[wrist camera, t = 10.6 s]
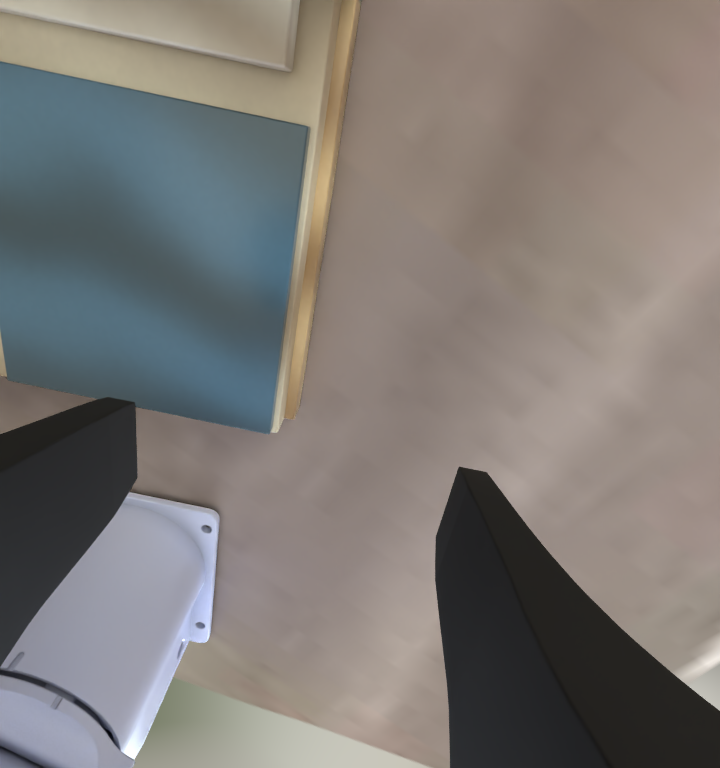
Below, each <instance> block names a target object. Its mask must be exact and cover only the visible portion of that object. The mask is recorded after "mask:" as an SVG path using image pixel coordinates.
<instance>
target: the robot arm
mask: <svg viewBox="0 0 720 768" xmlns="http://www.w3.org/2000/svg"><path fill="white" fill-rule="evenodd" d="M136 479H137V445H136V412H135V402H131V401H126V400H121V399H116V398H111V397H106V398H102V399H98V400H95V401H92V402H89V403H86V404H83V405H80V406H77V407H74V408H72V409H69V410H66V411H63V412H61V413H58V414H55V415H53V416H50V417H47V418H44V419H42V420H39V421H36V422H33V423H31V424H28V425H25V426H22V427H20V428H17V429H14V430H11V431H9V432H6V433H3V434H0V768H133V766H134V764H135V761H134V758H135V757H136V755H137V754H138V752H139V751H140V749H141V747H142V745H143V743H144V741H145V739H146V736H147V734H148V732H149V730H150V727H151V725H152V723H153V721H154V719H155V716H156V714H157V712H158V709H159V707H160V705H161V703H162V701H163V698H164V696H165V694H166V691H167V689H168V687H169V685H170V682H171V680H172V678H173V676H174V673H175V671H176V669H177V667H178V664H179V662H180V660H181V658H182V655H183V653H184V651H185V649H186V646H187V644H188V642H189V641H194V642H198V643H204V642H206V641H208V639H209V636H210V634H211V622H212V609H213V597H214V584H215V571H216V558H217V546H218V533H219V520H220V518H219V515H218V513H217V512H216V511H214V510H212V509H209V508H204V507H199V506H195V505H190V504H185V503H180V502H175V501H170V500H165V499H161V498H156V497H151V496H146V495H141V494H136V493H131V492H129V491H130V490H131V488H132V486H133V484H134V483H135V481H136ZM205 525H208V526H210V527H211V528H208V527H206V526H205ZM435 581H436V591H437V600H438V609H439V618H440V627H441V635H442V644H443V653H444V661H445V670H446V678H447V689H448V702H449V733H450V768H720V711H719V710H718V709H716V708H715V707H714V706H713V705H711V704H710V703H708V702H707V701H706V700H705V699H703V698H702V697H701V696H699V695H698V694H697V693H696V692H695V691H693V690H692V689H691V688H690V687H689V686H687V685H686V684H685V683H684V682H682V681H681V680H680V679H679V678H677V677H676V676H675V675H674V674H673V673H671V672H670V671H669V670H668V669H667V668H666V667H664V666H663V665H662V664H661V663H660V662H659V661H657V660H656V659H655V658H654V657H653V656H652V655H650V654H649V653H648V652H647V651H646V650H645V649H644V648H642V647H641V646H640V645H639V644H638V643H637V642H636V641H634V640H633V639H632V638H631V637H630V636H629V635H628V634H627V633H626V632H625V631H623V630H622V629H621V628H620V627H619V626H618V625H617V624H616V623H615V622H614V621H613V620H612V619H611V618H610V617H609V616H608V615H607V614H606V613H605V612H604V611H603V610H602V609H601V608H600V607H599V606H598V605H597V604H596V603H595V602H594V601H593V600H592V599H591V598H590V597H589V596H588V595H587V594H586V593H585V592H584V591H583V590H582V589H581V588H580V587H579V586H578V585H577V584H576V583H575V582H574V581H573V579H572V578H571V577H570V576H569V575H568V574H567V573H566V571H565V570H564V569H563V568H562V567H561V566H560V565H559V564H558V562H557V561H556V560H555V559H554V558H553V557H552V556H551V554H550V553H549V552H548V551H547V550H546V548H545V547H544V546H543V545H542V544H541V542H540V541H539V540H538V539H537V537H536V536H535V535H534V534H533V532H532V531H531V530H530V529H529V527H528V526H527V525H526V524H525V522H524V521H523V520H522V518H521V517H520V516H519V515H518V513H517V512H516V511H515V509H514V508H513V507H512V505H511V504H510V503H509V501H508V500H507V499H506V497H505V496H504V495H503V493H502V492H501V490H500V489H499V488H498V486H497V485H496V484H495V482H494V481H493V480H492V479H491V477H490V476H489V475H488V474H487V472H483V471H478V470H473V469H468V468H463V467H459V468H458V471H457V474H456V477H455V480H454V483H453V486H452V489H451V492H450V496H449V499H448V502H447V505H446V508H445V511H444V514H443V517H442V520H441V523H440V526H439V529H438V532H437V535H436V556H435Z"/></svg>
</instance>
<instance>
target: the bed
mask: <svg viewBox="0 0 720 768" xmlns="http://www.w3.org/2000/svg"><path fill="white" fill-rule="evenodd" d="M361 1H362V0H0V376H4V377H7V380H8V381H13V382H18V383H23V384H28V385H32V386H37V387H42V388H47V389H52V390H57V391H61V392H66V393H71V394H76V395H81V396H86V397H90V398H95V399H102V398H106V397H111V398H116V399H121V400H126V401H131V402H135V407H139V408H144V409H148V410H153V411H158V412H163V413H168V414H173V415H177V416H182V417H187V418H192V419H197V420H201V421H206V422H211V423H216V424H221V425H226V426H230V427H235V428H240V429H245V430H250V431H255V432H259V433H264V434H270V432H274V433H277V432H278V430H279V428H280V426H281V424H282V422H283V419H284V418H287V419H292V420H294V419H295V416H296V414H297V411H298V409H299V407H300V401H301V394H302V388H303V381H304V375H305V368H306V361H307V355H308V348H309V342H310V335H311V329H312V322H313V316H314V309H315V302H316V296H317V289H318V283H319V276H320V270H321V263H322V257H323V250H324V244H325V237H326V230H327V224H328V217H329V211H330V204H331V198H332V191H333V185H334V178H335V171H336V165H337V158H338V152H339V145H340V139H341V132H342V126H343V119H344V112H345V106H346V99H347V93H348V86H349V80H350V73H351V67H352V60H353V54H354V47H355V40H356V34H357V27H358V21H359V14H360V8H361Z"/></svg>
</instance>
